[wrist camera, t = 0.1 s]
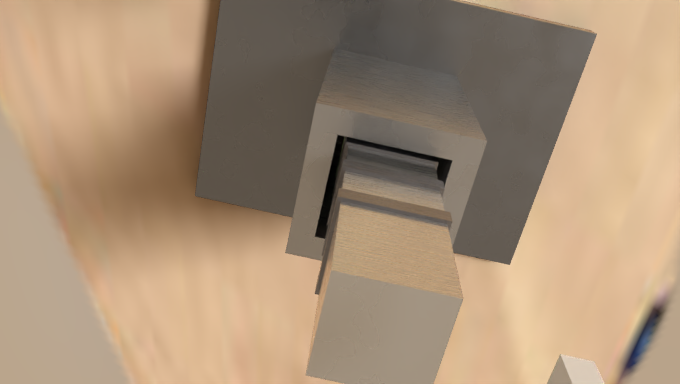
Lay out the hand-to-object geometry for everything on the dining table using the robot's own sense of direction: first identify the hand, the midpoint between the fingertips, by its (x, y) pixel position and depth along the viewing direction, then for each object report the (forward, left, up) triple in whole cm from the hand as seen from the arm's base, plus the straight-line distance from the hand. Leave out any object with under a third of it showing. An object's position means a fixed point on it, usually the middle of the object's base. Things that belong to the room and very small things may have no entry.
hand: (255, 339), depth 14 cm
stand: (+3, +4, -28) cm, 29 cm away
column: (+3, +4, -27) cm, 27 cm away
